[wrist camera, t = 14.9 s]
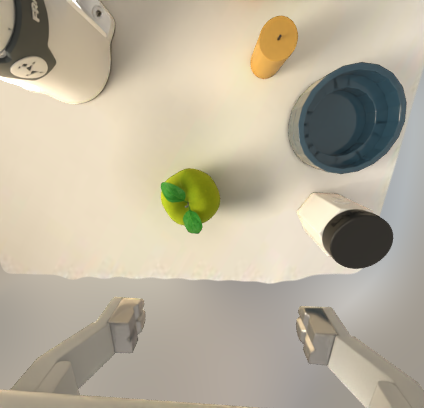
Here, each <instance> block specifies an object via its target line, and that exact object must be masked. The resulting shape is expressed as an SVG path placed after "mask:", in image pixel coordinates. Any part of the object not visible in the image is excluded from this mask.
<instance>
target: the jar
mask: <svg viewBox="0 0 424 408" xmlns="http://www.w3.org/2000/svg"><path fill="white" fill-rule="evenodd" d="M297 214H298V217H299V219H300V221H301V223H302V226H303V228H304V230H305V232H306V233H307V234H308V235H309V236H310V237H311V238H312V239H313V240H314V242H315V243H316V244H317V245H318V246H319V247H320V248H321V249H322V250H323V251H324V252H325V254H326V255H327V256H328V257H332V258H333V259H334V260H335V261H336V262H337V263H339V264H340V265H342V266H344V267H347V268H353V269H358V268H365V267H368V266H371V265H373V264H375V263H377V262H378V261H380V260H381V259H382V258H383V257H384V256H385V255H386V254H387V253H388V251H389V250H390V248H391V246H392V242H393V232H392V229H391V227H390V225H389V224H388V223H387V222H386V221H385V220H384V219H382V218H380V217H379V216H377V215H375V214H374V213H373V211H372V210H371V209H368V208H366V207H364V206H362V205H360V204H358V203H356V202H353V201H351V200H349V199H347V198H345V197H343V196H341V195H338V194H330V193H312V194H311V195H310V196H309V197H308V199H307V200H306V201H305V202H304V203H303V205H302V206H301V207H300V208H299V210H298V211H297Z"/></svg>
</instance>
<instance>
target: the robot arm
mask: <svg viewBox="0 0 424 408" xmlns="http://www.w3.org/2000/svg"><path fill="white" fill-rule="evenodd" d="M99 13H101V16H100V17H98V14H99ZM114 29H115V21H114V19H113V17H112V16H111V14H110V13H109V12H108V10H107V9H106V8H105V7H104V5H103V4H102V3H101V2H100V0H0V80H3V81H6V82H10V83H13V84H16V85H19V86H21V87H22V88H23V89H25V90H28V91H31V92H36V93H44V94H47V95H49V96H51V97H53V98H55V99H57V100H59V101H61V102H65V103H70V104H80V103H85V102H87V101H90V100H92V99H93V98H95V97H96V96H97V95H98V94H99V93H100V92H101V91H102V89H103V88H104V86H105V84H106V82H107V80H108V77H109V73H110V67H111V54H110V43H111V40H112V37H113V33H114ZM2 77H3V78H2ZM143 306H144V300H143V299H138V298H125V297H124V298H122V297H115V298H113V299H112V300H111V302H110V303H109V304H108V306H107V307H106V309H105V310H104V311H103V313H102V314H101V316H100V317H99V318H98V320H97V321H96V323H91V324H90V325H88V326H87V327H85V328H83V329H82V330H81V331H79V332H77V333H76V334H74V335H73V336H71V337H69V338H68V339H66V340H65V341H63V342H62V343H60V344H58V345H57V346H55V347H54V348H52V349H51V350H49V351H48V352H46V353H45V354H43V355H41V356H40V357H38V358H37V359H36V360H35V361H34V362H33V364H32V365H31V366H30V367H29V368H28V369H27V371H26V372H25V373H24V374H23V375H22V376H21V378H20V379H19V380H18V381H17V382H16V383H15V385H14V386H13V387H12V388H11V389H10V390H0V408H258V407H243V406H228V405H215V404H201V403H186V402H172V401H158V400H143V399H129V398H115V397H101V396H85V395H80V394H79V391H78V389H79V388H80V387H81V386H82V385H83V384H84V383H85V382H86V381H87V380H89V378H91V377H92V376H93V375H94V374H95V373H96V372H97V371H98V370H99V369H100V368H101V367H102V366H103V365H104V364H105V363H106V362H107V361H108V360H109V359H110V358H111V357H112V356H113V355H114V354H115V353H133V350H134V348H135V346H136V344H137V341H138V336H137V335H138V334H139V333H140V332H141V331H142V329H143V327H144V323H145V311H144V310H143ZM298 313H299V315H300V317H299V318H298V319H297V322H296V329H297V334H298V337H299V340H300V341H301V342H302V343H303V344H304V347H303V350H304V353H305V355H306V358H307V360H308V363H309V364H317V365H328V367H329V368H330V370H331V371H332V372H333V373H334V374H335V375H336V376H337V377H338V378H339V379H340V380H341V381H342V383H343V384H344V385H345V386H346V387H347V388H348V389H349V390H350V391H351V392H352V393H353V394H354V395H355V397H357V399H358V400H359V401H360V402H361V403H362V404H363V405H364V406H365V407H366V408H424V390H423V389H422V387H421V386H420V385H419V384H418V382H416V381H415V380H414V379H412V378H411V377H409V376H408V375H407V374H405V373H404V372H402V371H401V370H400V369H399V368H397V367H396V366H394V365H393V364H391V363H390V362H389V361H387V360H386V359H385V358H383V357H382V356H381V355H379V354H378V353H376V352H375V351H373V350H372V349H371V348H369V347H368V346H366V345H365V344H364V343H362V342H361V341H360V340H358V339H357V338H356V337H353V336H351V335H350V334H349V332H348V331H347V330H346V328H345V326H344V325H343V323H342V322H341V321H340V319H339V318H338V316H337V315H336V313H335V312H334V310H333V309H332V308H331V307H309V306H300V307H299V310H298Z"/></svg>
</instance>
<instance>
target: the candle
mask: <svg viewBox="0 0 424 408" xmlns="http://www.w3.org/2000/svg"><path fill="white" fill-rule="evenodd" d="M297 40H298V32H297V28H296V26H295V24H294V22H293V21H292V20H291V19H289V18H288V17H285V16H276V17H273V18H272V19H270V20H269V21H268V22H267V23H266V24H265V25H264V26H263V28H262V30H261V33H260V35H259V38H258V41H257V44H256V46H255V49H254V52H253V55H252V57H251V69H252V71H253V73H254V74H255V75H256V76H257V77H259V78H262V79H267V78H270V77H272V76H273V75H274V74H275V73H276V72H277V71H278V70H279V68H280V67H281V66H282V65H283V64H284V62H285V61H286V60H287V59H288V57H289V56H290V55H291V54H292V52H293V51H294V49H295V47H296V44H297Z"/></svg>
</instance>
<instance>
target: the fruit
mask: <svg viewBox="0 0 424 408" xmlns="http://www.w3.org/2000/svg"><path fill="white" fill-rule="evenodd" d="M161 190H162V192H161V201H162V204H163V206H164V208H165V210H166V212H167V213H168V215H169V216H170V218H171V219H172V220H173V221H175V222H176V223H178V224H181V225H185V227H186V229H187V230H188V232H190V233H197V234H199V232H200V231H201V230H202V223H204V222H206V221H208V220H209V219H210V218H211V217H212V216H213V215H214V214H215V213H216V211H217V210H218V208H219V205H220V195H219V191H218V189H217V187H216V185H215V183H214V181H213V180H212V178H211V177H210V176H209V175H208V174H206V173H204V172H202V171H199V170H196V169H190V168H189V169H184V170H182V171H180V172H178V173H176V174H175V175H173V176H171V177H170V178H169V179H168V180H167V181H166V182H163V183H162V184H161Z"/></svg>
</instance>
